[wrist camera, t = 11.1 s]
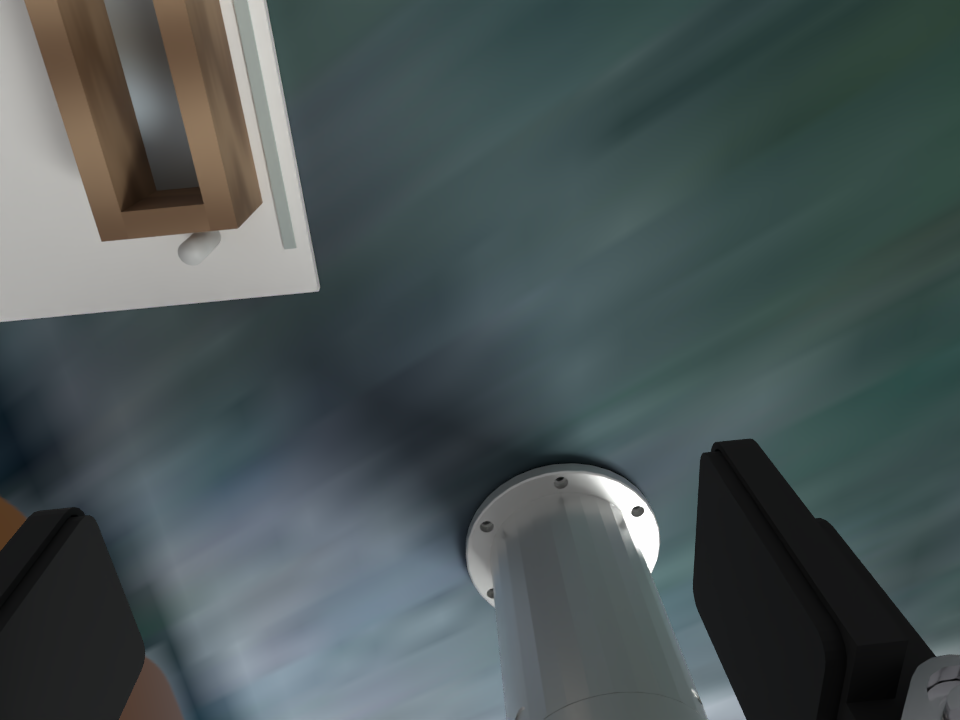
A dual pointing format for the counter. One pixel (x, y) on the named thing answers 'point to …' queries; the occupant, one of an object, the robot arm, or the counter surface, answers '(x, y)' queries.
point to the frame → (150, 113)
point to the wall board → (152, 260)
